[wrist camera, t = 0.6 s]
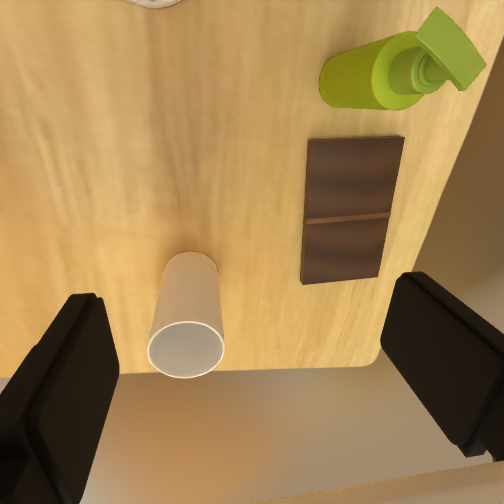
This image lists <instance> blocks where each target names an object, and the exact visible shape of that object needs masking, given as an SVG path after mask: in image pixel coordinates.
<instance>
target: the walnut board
mask: <svg viewBox="0 0 504 504" xmlns="http://www.w3.org/2000/svg"><path fill="white" fill-rule="evenodd" d="M404 139H405V137H402V136H384V137H362V138H340V139H317V140H308V149H307V167H306V184H305V202H304V220H303V238H302V255H301V273H300V281H301V283H302V285H307V284H317V283H326V282H336V281H345V280H355V279H364V278H374V277H378V274H379V269H380V263H381V258H382V253H383V248H384V243H385V238H386V232H387V227H388V222H389V217H390V214H391V207H392V201H393V196H394V191H395V186H396V181H397V176H398V170H399V165H400V160H401V155H402V150H403V144H404Z"/></svg>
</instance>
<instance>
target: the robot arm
mask: <svg viewBox="0 0 504 504" xmlns="http://www.w3.org/2000/svg"><path fill="white" fill-rule="evenodd" d="M127 1H129V2H131V3H133V4H135V5H139V6H142V7H146V8H162V7H168V6H171V5H173V4H176V3H178V2H180V1H181V0H155V1H152V0H127ZM380 343H381V346H382V349H383V350H384V351H385V353H386V354H387V356H388V357H389V358H390V360H391V361H392V362H393V364H394V365H395V367H396V368H397V369H398V371H399V372H400V373H401V375H402V376H403V378H404V379H405V380H406V382H407V383H408V384H409V386H410V387H411V389H412V390H413V391H414V393H415V394H416V395H417V397H418V398H419V400H420V401H421V402H422V404H423V405H424V406H425V408H426V409H427V411H428V412H429V413H430V415H431V416H432V417H433V419H434V420H435V422H436V423H437V424H438V426H439V427H440V428H441V430H442V431H443V432H444V434H445V435H446V437H447V438H448V439H449V440H450V442H452V443H453V444H455V445H457V446H458V448H459V449H460V450H461V452H462V453H463V454H464V456H465V457H472V456H478V455H483V454H484V453H485V451H486V450H488V452H489V453H490V454H491V455H492V457H493V458H492V459H493V463H487V464H481V465H475V466H468V467H463V468H457V469H450V470H444V471H438V472H432V473H426V474H420V475H414V476H408V477H402V478H396V479H390V480H385V481H378V482H373V483H367V484H360V485H355V486H349V487H344V488H337V489H331V490H325V491H319V492H313V493H308V494H302V495H296V496H290V497H284V498H279V499H273V500H267V501H261V502H256V503H251V504H504V334H503V333H501V332H500V331H499V330H498V329H496V328H495V327H494V326H493V325H491V324H490V323H488V322H487V321H486V320H485V319H483V318H482V317H481V316H480V315H478V314H477V313H476V312H474V311H473V310H472V309H471V308H469V307H468V306H467V305H465V304H464V303H463V302H461V301H460V300H459V299H458V298H456V297H455V296H454V295H452V294H451V293H450V292H448V291H447V290H446V289H445V288H443V287H442V286H441V285H439V284H438V283H437V282H435V281H434V280H433V279H432V278H430V277H429V276H428V275H426V274H425V273H423V272H405V273H403V274H402V275H401V276H400V277H399V278H398V279H397V280H396V283H395V287H394V290H393V294H392V298H391V301H390V305H389V309H388V312H387V316H386V319H385V323H384V327H383V330H382V334H381V338H380ZM118 377H119V361H118V357H117V353H116V349H115V345H114V341H113V337H112V333H111V329H110V325H109V321H108V317H107V313H106V309H105V305H104V301H103V299H102V298H101V297H98V298H97V297H96V295H95V294H94V293H84V294H72V295H71V296H70V297H69V298H68V300H67V301H66V303H65V304H64V305H63V307H62V308H61V310H60V311H59V313H58V314H57V316H56V317H55V319H54V320H53V322H52V323H51V325H50V326H49V328H48V329H47V331H46V332H45V334H44V335H43V337H42V338H41V340H40V341H39V343H38V344H37V345H35V346H34V347H33V348H32V349H31V350H30V352H29V353H28V355H27V356H26V357H25V359H24V360H23V362H22V363H21V365H20V366H19V368H18V369H17V371H16V372H15V374H14V375H13V376H12V378H11V379H10V381H9V382H8V384H7V385H6V387H5V388H4V390H3V391H2V393H1V394H0V504H79V503H80V501H81V499H82V496H83V493H84V490H85V486H86V483H87V480H88V476H89V473H90V470H91V467H92V463H93V460H94V456H95V453H96V450H97V447H98V443H99V440H100V437H101V433H102V430H103V427H104V423H105V420H106V417H107V413H108V410H109V407H110V403H111V400H112V397H113V393H114V390H115V387H116V383H117V380H118Z"/></svg>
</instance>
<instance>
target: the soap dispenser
mask: <svg viewBox="0 0 504 504" xmlns="http://www.w3.org/2000/svg"><path fill="white" fill-rule="evenodd" d="M485 66H486V63H485V61H484V60H483V58H482V57H481V55H480V54H479V52H478V51H477V49H476V48H475V46H474V45H473V43H472V42H471V41H470V39H469V38H468V37H467V35H466V34H465V33H464V32H463V31H462V29H461V28H460V27H459V26H458V25H457V24H456V23H455V22H454V21H453V20H452V19H451V18H450V17H449V16H447V15H446V14H445V13H444V12H443V11H442V10H440V9H439V8H438V7H436V8H435V9H434V10H433V11H432V13H431V14H430V15H429V17H428V18H427V19H426V21H425V22H424V23H423V25H422V26H421V28H420V29H419V30H418V32H415V31H407V32H402V33H399V34H396V35H394V36H391V37H388V38H385V39H382V40H379V41H376V42H373V43H370V44H367V45H364V46H361V47H358V48H356V49H353V50H350V51H347V52H344V53H341V54H338V55H336V56H334V57H332V58H331V59H330V60H329V61H328V62H327V63H326V64H325V66H324V67H323V69H322V71H321V74H320V78H319V90H320V94H321V96H322V98H323V100H324V101H325V102H326V103H327V104H328V105H330V106H332V107H336V108H355V109H376V110H403V109H406V108H409V107H411V106H412V105H414V104H415V103H417V102H418V101H419V100H420V99H421V98H422V97H423V96H424V94H429V93H432V92H434V91H436V90H438V89H439V88H440V87H441V86H442V85H443V84H444V83H445V81H446V80H451V81H452V83H453V84H454V85H455V86H456V88H457V89H458V90H459V91H465V90H466V89H467V88H468V87H469V85H470V84H471V83H472V82H473V81H474V79H475V78H476V77H477V76H478V75H479V73H480V72H481V71H482V70H483V69H484V67H485Z"/></svg>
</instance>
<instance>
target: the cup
mask: <svg viewBox="0 0 504 504" xmlns="http://www.w3.org/2000/svg"><path fill="white" fill-rule="evenodd" d="M224 350H225V342H224V332H223V321H222V311H221V300H220V290H219V279H218V270H217V267H216V265H215V263H214V262H213V261H212V260H211V259H210V258H209V257H208V256H206V255H204V254H202V253H199V252H192V251H189V252H183V253H180V254H177V255H175V256H174V257H172V258H171V259H170V260H169V261H168V263H167V264H166V266H165V269H164V273H163V278H162V282H161V287H160V291H159V296H158V300H157V305H156V309H155V314H154V318H153V323H152V327H151V332H150V336H149V341H148V347H147V354H148V358H149V361H150V362H151V364H152V365H153V366H154V367H155V368H156V369H157V370H158V371H160V372H161V373H163V374H165V375H168V376H171V377H176V378H192V377H197V376H201V375H203V374H205V373H207V372H209V371H211V370H212V369H214V368H215V367H216V366H217V365H218V364H219V363H220V361H221V359H222V357H223V355H224Z"/></svg>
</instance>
